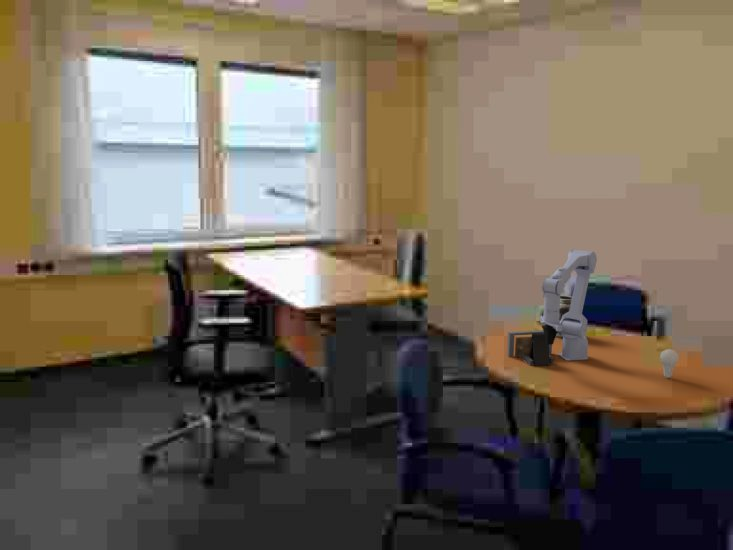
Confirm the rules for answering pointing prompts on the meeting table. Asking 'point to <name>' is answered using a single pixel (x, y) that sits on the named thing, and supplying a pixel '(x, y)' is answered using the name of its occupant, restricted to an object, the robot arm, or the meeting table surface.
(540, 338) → the phone stand
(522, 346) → the door
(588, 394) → the meeting table surface
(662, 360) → the lightbulb
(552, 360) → the keeper
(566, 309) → the apothecary jar
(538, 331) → the grey picture frame
